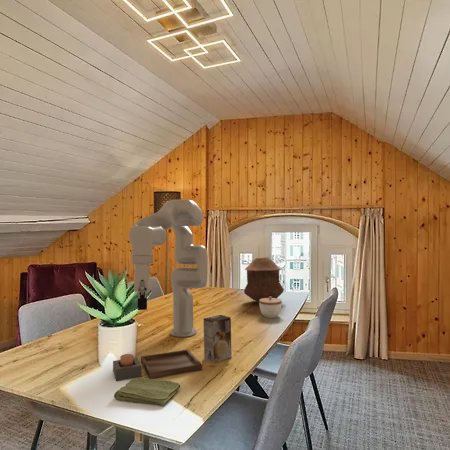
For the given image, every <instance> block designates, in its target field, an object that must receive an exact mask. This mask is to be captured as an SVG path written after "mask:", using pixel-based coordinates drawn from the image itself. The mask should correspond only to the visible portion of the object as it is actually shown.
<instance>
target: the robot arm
mask: <svg viewBox="0 0 450 450" xmlns="http://www.w3.org/2000/svg"><path fill="white" fill-rule="evenodd" d="M203 222H204V213H203V211H202V209H201V207H199V205H198V204H197V203H196V202H195V201H194V200H191V199H170V200H167V201H166V202H165V203H164V204H163V205H162V206H161V208H160V209H159V210H158V211H157V212H155V213H152V214H150V215H147V216H144V217H142V218H140V219H139V220H137V221H136V222H135V223H134V224H133V225H132V227H131V228H130V230H129V233H128V240H129V242H130V244H131V265H133V266H134V272H133V277H134V278H133V284H134V285H133V286H134V287H133V290H134V293H138V294H137V310H138V311H146V310H147V309H148V298H147V292H148V291H149V285H150V265H153V262H154V261H153V260H154V259H153V255H154V253H153V252H154V251H153V249H154V246H155V247H156V246H162V245H163V244H164V243H166V241H167V237H168V235H167V232H166V230H169V229H170V228H172V230H173V232H174V239H175V240H174V260H175V263H176V264H178V265H187V266H190V265H191V266H196V267H176V268H174V269H173V270H171V272H170V273H171V274H170V282H171V288H172V309H173V313H172V316H173V317H172V319H173V321H172V322H173V326H172V327H173V329H171V330H170V335H171V336H172V337H176V338H186V337H188V338H189V337H192V336H194V335H196V334H197V329H196V328H194V297H193V296H194V295H193V293H192V291H191V290H190V289H203V288H205V287H206V286H207V284H208V271H209V270H208V269H209V266H208V263H209V259H208V258H209V255H208V249H207V247H205V246H204V245H202V244H201V245H200V244H194V241H193V240H194V235H193V232H192V231H191V229H190V228H189V227H199V226H200V225H202V224H203Z"/></svg>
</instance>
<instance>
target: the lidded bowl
mask: <svg viewBox="0 0 450 450" xmlns="http://www.w3.org/2000/svg"><path fill="white" fill-rule="evenodd" d="M258 305H259V311H260V313H261V314H262V315H263V317H265V318H269V319H272V318H273V319H274V318H277V317H278V316H279V315H280V313H281V311H282V299H281V298H271V296H270V297H269V298H262V299H260V300H259V304H258Z"/></svg>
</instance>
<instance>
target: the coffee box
mask: <svg viewBox="0 0 450 450" xmlns="http://www.w3.org/2000/svg"><path fill="white" fill-rule="evenodd" d="M203 355H204V357H203V358H204V360H207V361H208V362H210V363H212V364H216V363H219V362H222V361H224V360H228V359H231V358H232V357H233V356H232V319H231V316H227V315H222V314H219V315H213V316H209V317H205V318H204V317H203Z"/></svg>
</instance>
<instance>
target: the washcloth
mask: <svg viewBox="0 0 450 450" xmlns="http://www.w3.org/2000/svg"><path fill="white" fill-rule="evenodd" d="M181 387H182V386H181V383H178V382H175V381H171V380H165V379H163V380H162V379H158V378H155V379H149V378H147V377H137V378H133V379H129V381H128V382H127V383H126V384H125V385H124V386H122V387H120V388H119V389H117V390H116V391H115V392H114V394H113V398H114V399H115V400H117V401H120V402H122V401H123V402H127V403H133V404H134V403H135V404H147V405H156V406H163V407H164V406H165V404H167V403H168V401H169V400H170V399H171V398H173V396H174V395H176V393H177V392H178V390H179V389H180V388H181Z"/></svg>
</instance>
